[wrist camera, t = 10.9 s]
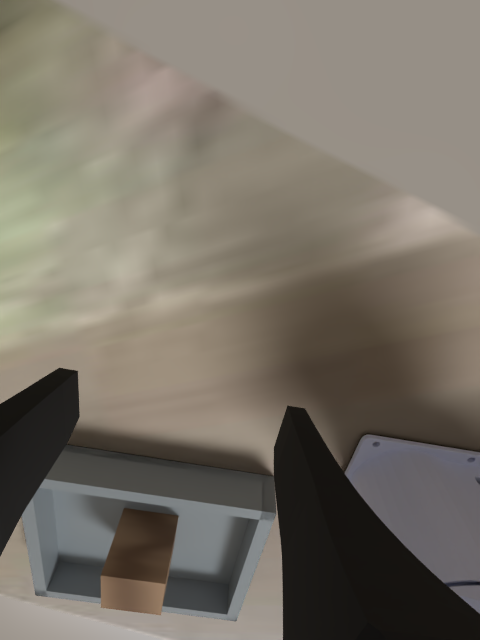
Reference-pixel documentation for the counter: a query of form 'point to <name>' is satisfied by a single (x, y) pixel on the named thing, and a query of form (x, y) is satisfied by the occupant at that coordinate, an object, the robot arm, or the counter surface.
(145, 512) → the block
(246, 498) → the bin
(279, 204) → the counter surface
